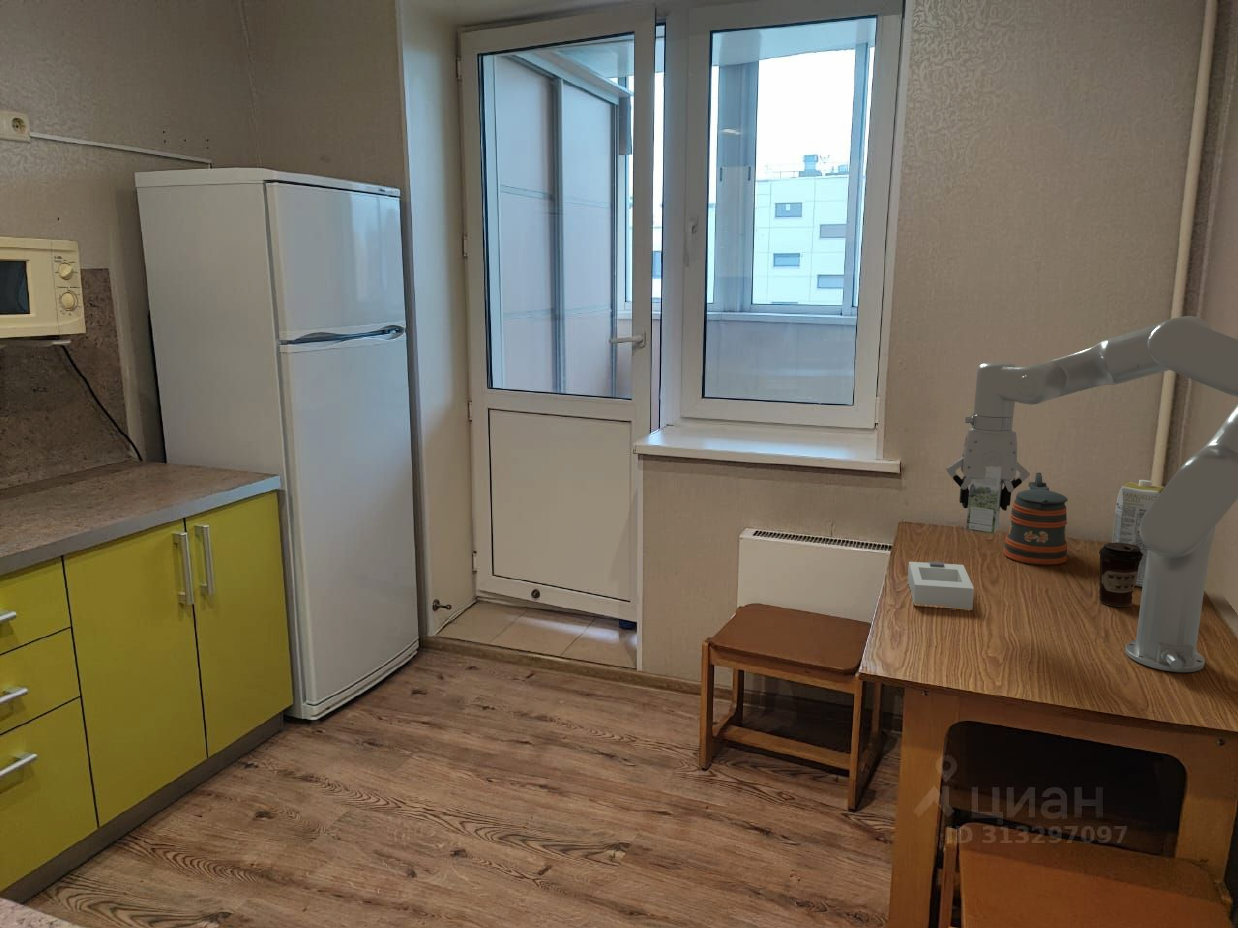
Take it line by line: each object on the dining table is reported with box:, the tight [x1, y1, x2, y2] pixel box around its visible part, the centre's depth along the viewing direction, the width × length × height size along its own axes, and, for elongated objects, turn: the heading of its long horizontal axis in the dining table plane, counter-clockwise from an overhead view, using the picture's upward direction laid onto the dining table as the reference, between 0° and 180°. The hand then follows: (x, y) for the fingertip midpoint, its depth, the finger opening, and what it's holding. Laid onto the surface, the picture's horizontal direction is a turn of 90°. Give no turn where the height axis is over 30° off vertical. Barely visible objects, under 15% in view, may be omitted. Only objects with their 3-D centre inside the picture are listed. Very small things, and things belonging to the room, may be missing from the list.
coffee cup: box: [1098, 542, 1143, 608], centre depth 189 cm, size 9×8×13 cm
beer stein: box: [1002, 472, 1069, 566], centre depth 222 cm, size 19×15×20 cm
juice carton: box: [1111, 479, 1166, 587], centre depth 201 cm, size 9×8×24 cm
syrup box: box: [965, 466, 1004, 535], centre depth 180 cm, size 6×6×14 cm
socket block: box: [907, 560, 975, 610], centre depth 195 cm, size 16×12×6 cm
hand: (984, 507), depth 181 cm, fingers closed on syrup box, 7 cm apart
